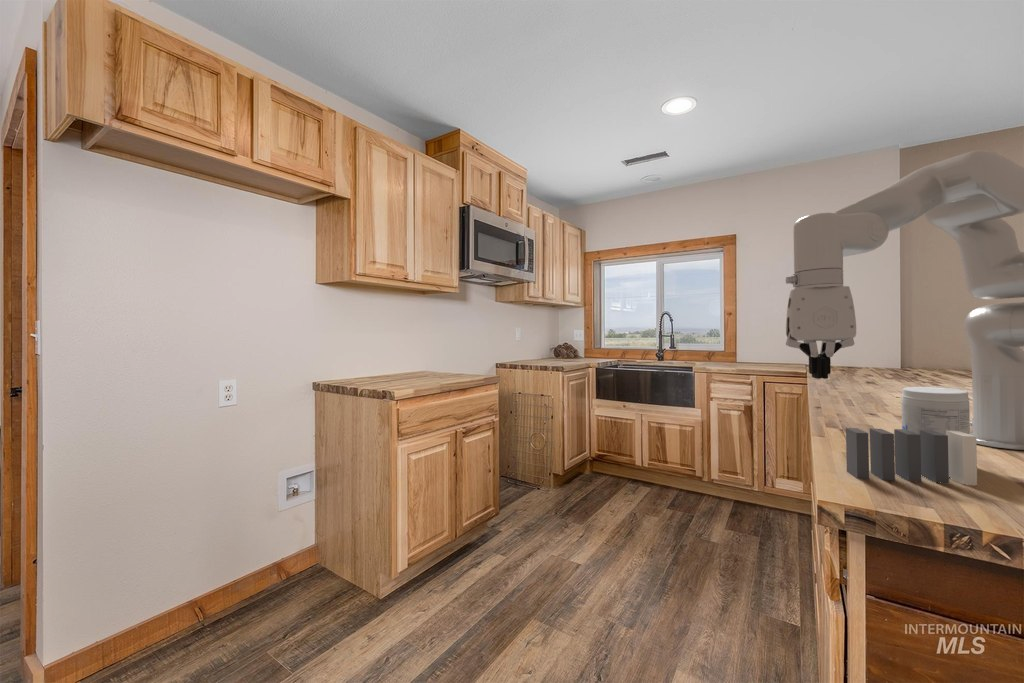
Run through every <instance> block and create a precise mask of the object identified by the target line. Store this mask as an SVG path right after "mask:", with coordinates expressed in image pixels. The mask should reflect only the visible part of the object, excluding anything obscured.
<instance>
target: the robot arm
mask: <svg viewBox="0 0 1024 683" xmlns="http://www.w3.org/2000/svg"><path fill="white" fill-rule="evenodd" d="M1023 213H1024V167H1023V166H1022V165H1020V164H1019V163H1017V162H1016V161H1013V160H1011V159H1009V158H1007V157H1005V156H1004V155H1001V154H999V153H996V152H994V151H990V150H983V149H977V150H971V151H968V152H965V153H962V154H959V155H956V156H952V157H949V158H946V159H943V160H941V161H937V162H934V163H931V164H928V165H925V166H922V167H921V168H918V169H916V170H914V171H912V172H911V173H909V174H907V175H906V176H903V177H902V178H900V179H899V180H897V181H895V182H894V183H892V184H890V185H889V186H886V187H885V188H884V189H881V190H880V191H877V192H876V193H873V194H871V195H868V196H866V197H864V198H862V199H860V200H858V201H856V202H854V203H852V204H849V205H848V206H846V207H844V208H841V209H838V210H837V211H835V212H834V211H833V212H819V213H814V214H809V215H804V216H803V217H801V218H798V219H797V220H796V221H795V222H794V225H793V231H792V232H793V268H794V269H793V272H794V273H793V274H792V275H791V276H787V277H785V284H786V285H787V284H790V285H792V287H793V289H791V290H790V293H789V295H788V296H789V297H788V300H787V302H788V303H787V310H786V318H785V319H786V323H785V335H786V337H787V338H786V342H785V345H786V347H789V348H792V349H793V348H794V349H798V350H801V351H802V353H803V354H804V355H805V356H807V357H808V372H809V374H810V375H811V378H814V379H817V380H820V379H824V380H825V379H829V375H831V372H832V370H831V364H832V363H831V362H832V361H831V358H832V357H833V356H834V354H835V353H837V352H838V351H839V350H840V349H844V348H849V347H853V346H854V345H855V341H854V338H856V336H857V321H856V311H855V305H854V300H853V299H854V298H853V294H852V292H851V289H850V286H849V285H845V286H844V257H849V256H855V255H861V254H865V253H869V252H872V251H875V250H876V249H878V248H880V247H881V246H882V245H883V244H884V243H885V242H886V240H887V239H888V237H889V232H892V231H894V230H897V229H899V228H902V227H905V226H908V225H909V224H911V223H913V222H914V221H915V220H918V219H919V218H920V217H922V216H923V217H924V219H925V220H926V221H927V222H928V223H929V224H930V225H932V226H934V227H936V228H938V229H940V230H942V231H944V232H945V233H947V234H948V235H949V236H950V237H951V238H952V239H953V240H954V241H955V243H956V244H957V247H958V251H959V254H960V255H959V256H960V260H961V264H962V270H963V271H962V272H963V275H964V281H965V284H966V288H967V290H968V292H969V294H970V295H971V296H972V297H974V298H976V299H980V300H999V299H1000V300H1003V299H1004V300H1005V299H1019V298H1024V252H1023V251H1021V250H1020V248H1019V245H1018V240H1017V235H1016V231H1015V230H1014V228H1013V226H1011V225H1010V224H1009V223H1008V222H1007V221H1005V220H1004V219H1003V218H1007V217H1012V216H1016V215H1021V214H1023ZM964 330H965V333H966V334H965V335H966V337H967V340H968V344H969V349H970V350H969V351H970V357H971V358H970V359H971V384H972V386H971V389H972V394H971V395H972V420H970V427H972V432H970V435H973V436H976V445H981V446H986V447H993V448H997V449H999V448H1000V449H1007V450H1018V451H1019V450H1020V451H1024V350H1023V349H1022V348H1021V347H1024V301H1023V302H1007V303H993V304H987V305H982V306H979V307H977V308H974V309H973V310H970V311H969V313H967V315H966V316H965V318H964ZM800 341H801V342H800ZM820 341H821V346H820V350H819V349H818V343H817V342H820Z"/></svg>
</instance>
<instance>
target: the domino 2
mask: <svg viewBox="0 0 1024 683" xmlns="http://www.w3.org/2000/svg"><path fill="white" fill-rule="evenodd" d="M869 458H870V459H869V465H870V474H872V475H874V476H875V477H877V478H878V479H880V480H881V481H888V482H889V481H890V480H891V481H892V482H894V481H895V482H896V474H895V440H894V432H893V433H892V432H890V431H887V430H885V429H882V428H869Z"/></svg>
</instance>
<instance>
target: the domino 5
mask: <svg viewBox="0 0 1024 683" xmlns="http://www.w3.org/2000/svg"><path fill="white" fill-rule="evenodd" d="M946 435H948V463H949V477H950V478H952V479H951V480H953V479H954V480H953V481H955V480H956V481H955V482H957V481H958V482H957V483H959V482H960V483H959V484H961V483H962V484H961V485H963V484H966V485H965V486H975V485H977V486H978V462H977V461H978V458H977V457H978V456H977V453H978V452H977V451H978V450H977V444H976V436H973V435H970V434H967V433H964V432H960V431H946ZM950 478H949V479H950ZM967 484H968V485H967Z"/></svg>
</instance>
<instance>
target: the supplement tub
mask: <svg viewBox="0 0 1024 683" xmlns="http://www.w3.org/2000/svg"><path fill="white" fill-rule="evenodd" d="M901 391H902V394H901V429H906V430H909V431H912V432H914V433H917V434H920V430H933V431H936V432H939V433H942V434H945V435H946V431H960V432H964V433H967V434H970V433H971V432H970V431H971V430H970V429H971V428H970V427H971V426H970V421H971V420H970V419H971V418H970V412H971V410H970V409H971V408H970V398H969V392H968V391H967V390H964V389H959V388H951V387H950V388H949V387H938V386H937V387H935V386H907V387H903V388H902V390H901Z"/></svg>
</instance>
